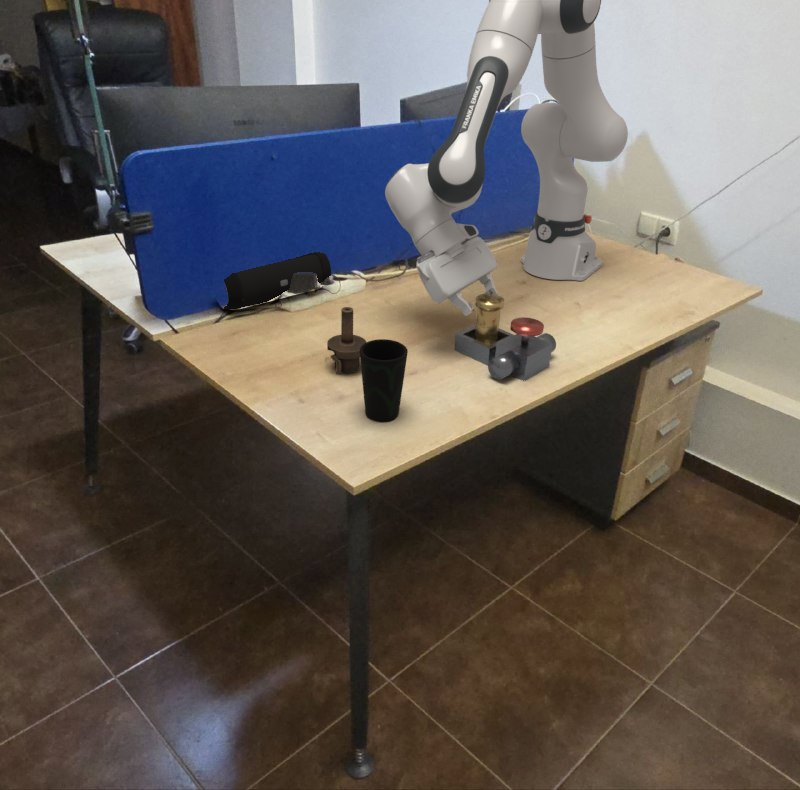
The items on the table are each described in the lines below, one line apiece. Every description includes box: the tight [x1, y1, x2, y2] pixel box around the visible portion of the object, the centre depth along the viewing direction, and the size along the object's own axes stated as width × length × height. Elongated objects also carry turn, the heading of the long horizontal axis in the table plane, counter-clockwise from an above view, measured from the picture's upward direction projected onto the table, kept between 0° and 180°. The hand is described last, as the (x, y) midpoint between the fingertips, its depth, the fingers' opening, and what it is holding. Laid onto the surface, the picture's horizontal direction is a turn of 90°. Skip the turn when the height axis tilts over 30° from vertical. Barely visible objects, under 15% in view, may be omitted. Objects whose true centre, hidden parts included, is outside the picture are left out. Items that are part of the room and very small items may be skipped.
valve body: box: [453, 316, 557, 382], centre depth 134 cm, size 16×17×9 cm
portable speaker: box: [223, 252, 332, 310], centre depth 155 cm, size 26×10×10 cm, turn 129°
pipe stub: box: [474, 293, 505, 345], centre depth 136 cm, size 5×5×11 cm
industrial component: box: [326, 306, 367, 375], centre depth 128 cm, size 9×7×12 cm
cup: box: [360, 338, 409, 423], centre depth 115 cm, size 8×8×12 cm
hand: (482, 305), depth 135 cm, fingers open, 8 cm apart
